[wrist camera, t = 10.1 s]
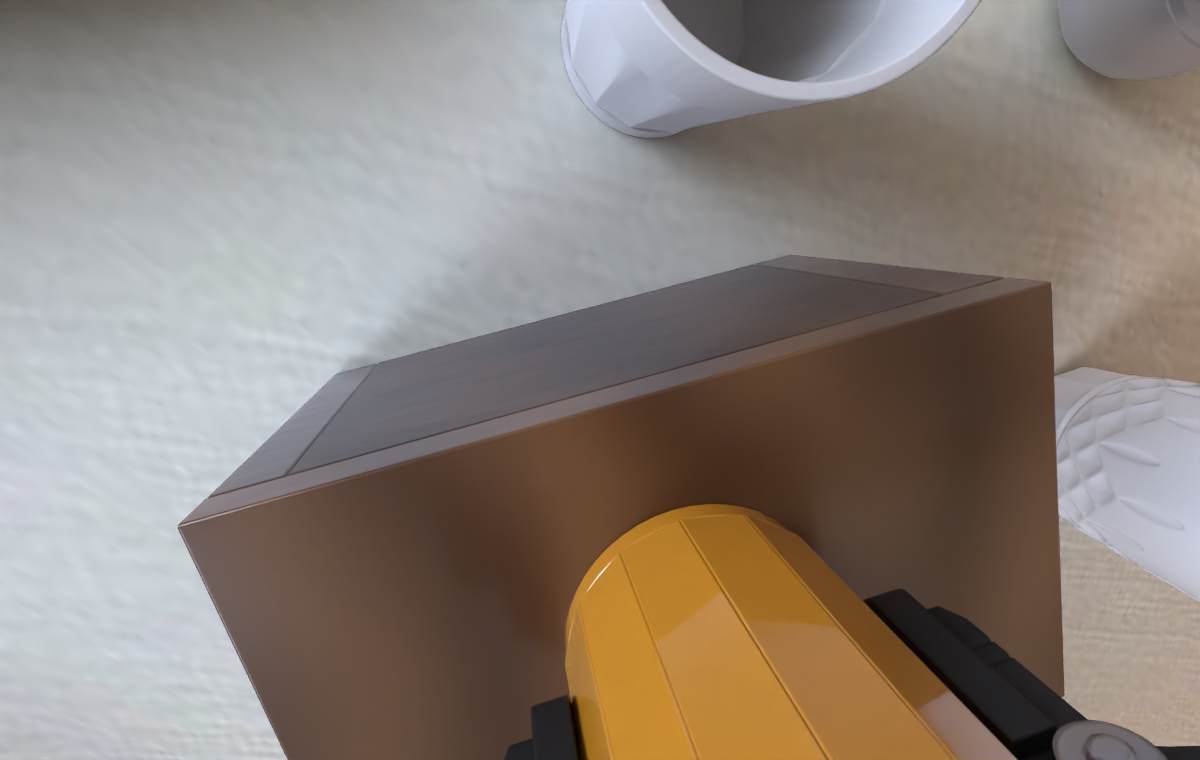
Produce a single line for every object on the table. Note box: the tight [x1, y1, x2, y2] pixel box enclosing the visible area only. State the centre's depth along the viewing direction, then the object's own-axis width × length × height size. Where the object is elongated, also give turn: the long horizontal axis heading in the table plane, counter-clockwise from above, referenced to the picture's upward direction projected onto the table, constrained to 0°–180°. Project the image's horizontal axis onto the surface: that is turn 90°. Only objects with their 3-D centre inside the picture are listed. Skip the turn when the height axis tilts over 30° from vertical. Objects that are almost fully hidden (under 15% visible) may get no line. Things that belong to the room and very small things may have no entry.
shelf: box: [178, 255, 1064, 760], centre depth 20 cm, size 18×11×12 cm, turn 103°
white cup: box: [1054, 367, 1200, 602], centre depth 24 cm, size 8×8×10 cm
